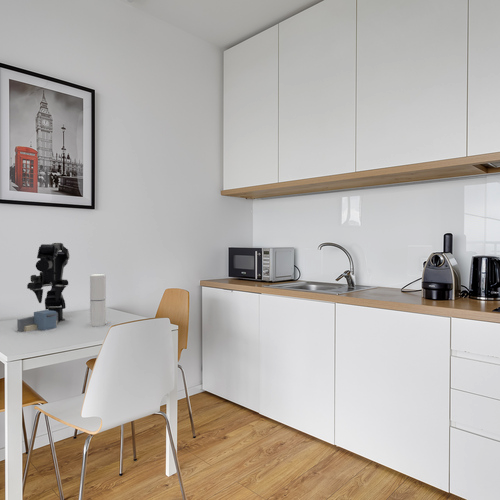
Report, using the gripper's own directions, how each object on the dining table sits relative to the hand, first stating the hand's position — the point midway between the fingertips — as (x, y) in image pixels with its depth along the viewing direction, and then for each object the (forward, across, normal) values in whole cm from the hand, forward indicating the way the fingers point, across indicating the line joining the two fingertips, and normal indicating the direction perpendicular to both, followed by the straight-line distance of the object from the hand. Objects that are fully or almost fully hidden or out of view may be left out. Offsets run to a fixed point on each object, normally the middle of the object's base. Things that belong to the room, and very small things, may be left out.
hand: (48, 301), depth 192 cm
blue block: (+12, +4, +3) cm, 13 cm away
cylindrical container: (+12, -13, +19) cm, 26 cm away
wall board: (+12, +4, -2) cm, 13 cm away
